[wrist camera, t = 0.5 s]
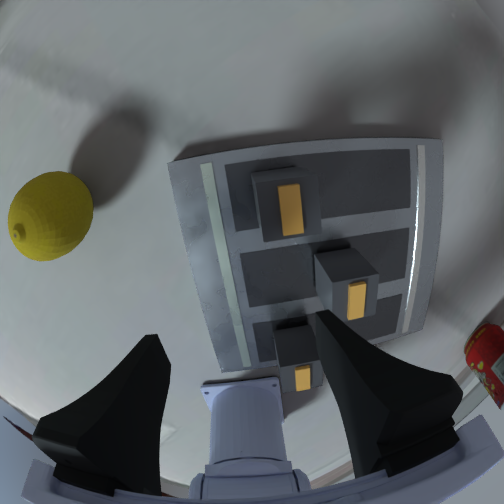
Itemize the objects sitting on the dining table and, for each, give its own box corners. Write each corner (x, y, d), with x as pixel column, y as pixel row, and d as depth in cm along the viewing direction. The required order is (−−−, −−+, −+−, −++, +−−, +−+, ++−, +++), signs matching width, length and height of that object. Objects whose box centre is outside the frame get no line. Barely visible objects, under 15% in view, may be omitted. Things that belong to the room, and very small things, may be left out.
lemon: (97, 153, 17) (28, 168, 9) (120, 222, 19) (65, 271, 12) (46, 179, 17) (-22, 206, 10) (67, 241, 19) (11, 289, 12)
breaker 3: (353, 284, 20) (377, 317, 16) (315, 291, 20) (333, 327, 16) (354, 247, 19) (381, 276, 15) (314, 254, 19) (333, 285, 15)
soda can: (453, 353, 28) (498, 414, 17) (485, 312, 26) (538, 367, 14) (469, 361, 30) (508, 413, 18) (497, 325, 27) (542, 373, 16)
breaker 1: (303, 212, 18) (323, 235, 14) (257, 219, 18) (264, 244, 14) (299, 166, 16) (319, 175, 12) (250, 172, 16) (255, 184, 12)
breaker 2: (311, 350, 22) (323, 388, 18) (276, 357, 22) (283, 395, 18) (310, 324, 21) (324, 362, 17) (272, 330, 21) (280, 370, 17)
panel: (415, 321, 25) (422, 330, 23) (222, 361, 25) (221, 373, 23) (431, 138, 17) (442, 139, 16) (172, 161, 18) (166, 163, 16)
